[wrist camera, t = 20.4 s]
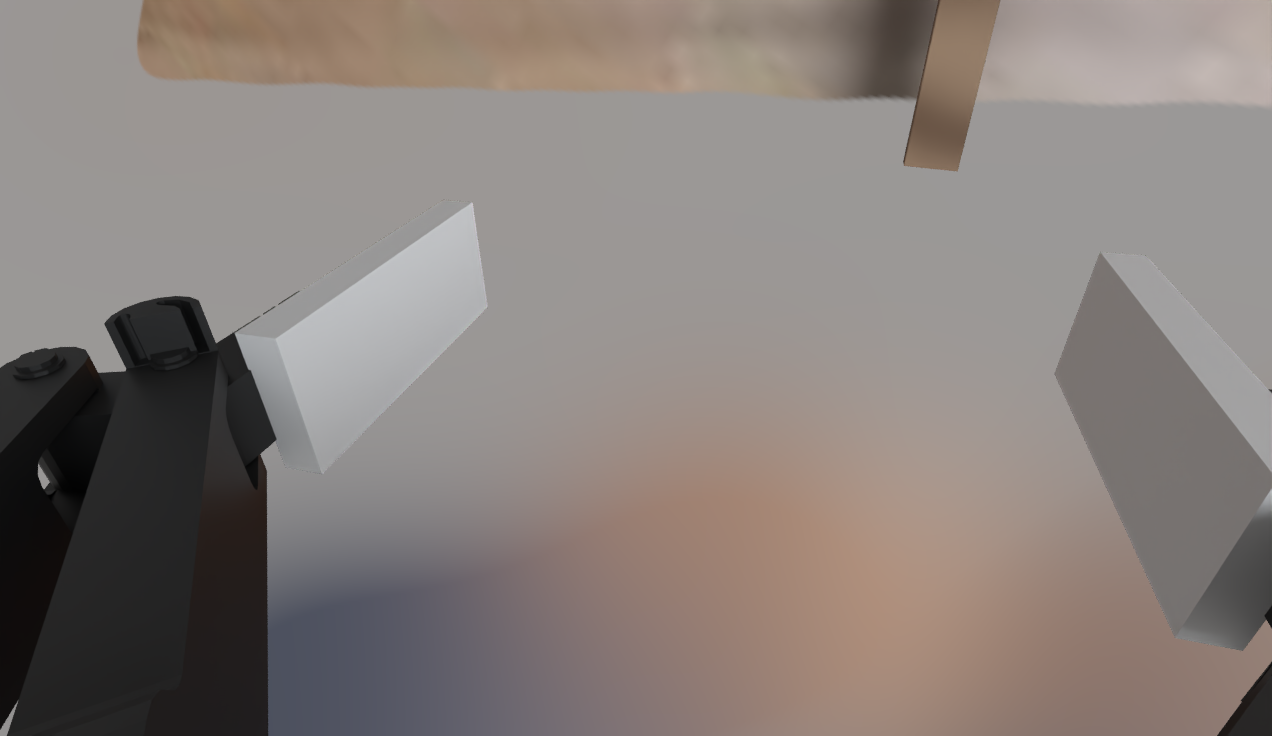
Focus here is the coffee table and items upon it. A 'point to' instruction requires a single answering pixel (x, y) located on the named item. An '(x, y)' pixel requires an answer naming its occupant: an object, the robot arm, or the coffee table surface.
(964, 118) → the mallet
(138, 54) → the coffee table surface
